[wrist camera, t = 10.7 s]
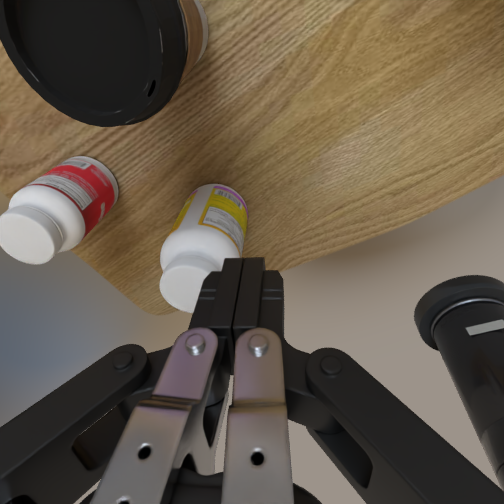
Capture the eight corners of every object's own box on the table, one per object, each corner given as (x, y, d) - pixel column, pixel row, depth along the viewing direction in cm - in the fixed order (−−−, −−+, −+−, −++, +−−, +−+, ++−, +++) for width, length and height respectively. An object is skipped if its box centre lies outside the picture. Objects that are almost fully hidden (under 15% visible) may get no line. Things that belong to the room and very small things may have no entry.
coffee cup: (195, 107, 30) (131, 169, 18) (105, 47, 28) (-37, 70, 16) (244, 8, 26) (206, 0, 14) (142, -71, 24) (-13, -164, 12)
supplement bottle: (196, 240, 38) (161, 325, 28) (178, 185, 35) (131, 259, 24) (254, 234, 37) (241, 320, 27) (243, 176, 34) (222, 250, 23)
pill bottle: (95, 219, 38) (34, 283, 29) (49, 176, 35) (-33, 231, 26) (132, 190, 36) (79, 250, 26) (86, 141, 33) (9, 189, 24)
